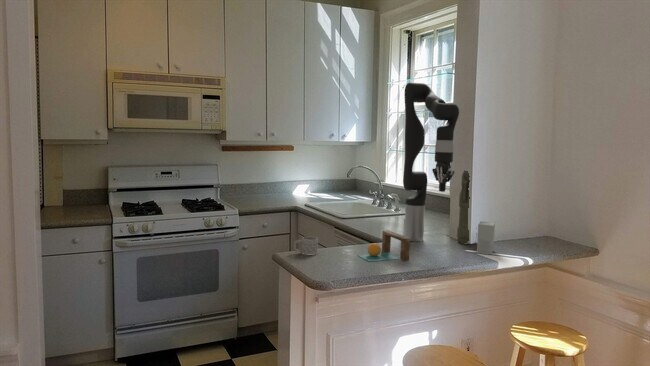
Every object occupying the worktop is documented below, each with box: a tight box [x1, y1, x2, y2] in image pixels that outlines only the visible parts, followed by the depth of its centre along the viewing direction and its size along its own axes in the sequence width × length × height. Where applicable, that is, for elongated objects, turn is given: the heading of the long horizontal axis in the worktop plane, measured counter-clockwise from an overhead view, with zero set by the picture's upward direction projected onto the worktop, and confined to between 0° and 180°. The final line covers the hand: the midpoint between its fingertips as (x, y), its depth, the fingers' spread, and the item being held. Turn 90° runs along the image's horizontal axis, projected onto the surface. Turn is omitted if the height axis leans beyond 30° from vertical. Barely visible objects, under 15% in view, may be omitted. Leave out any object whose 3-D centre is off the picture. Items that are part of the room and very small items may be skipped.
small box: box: [476, 221, 496, 256], centre depth 223 cm, size 8×6×13 cm
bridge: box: [381, 229, 411, 262], centre depth 212 cm, size 3×17×9 cm, turn 23°
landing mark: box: [357, 252, 400, 263], centre depth 209 cm, size 10×14×1 cm
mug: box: [293, 236, 319, 255], centre depth 212 cm, size 10×7×7 cm, turn 99°
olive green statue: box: [456, 169, 470, 244], centre depth 241 cm, size 9×12×35 cm
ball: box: [367, 242, 382, 256], centre depth 211 cm, size 6×6×6 cm
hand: (442, 191), depth 217 cm, fingers closed
